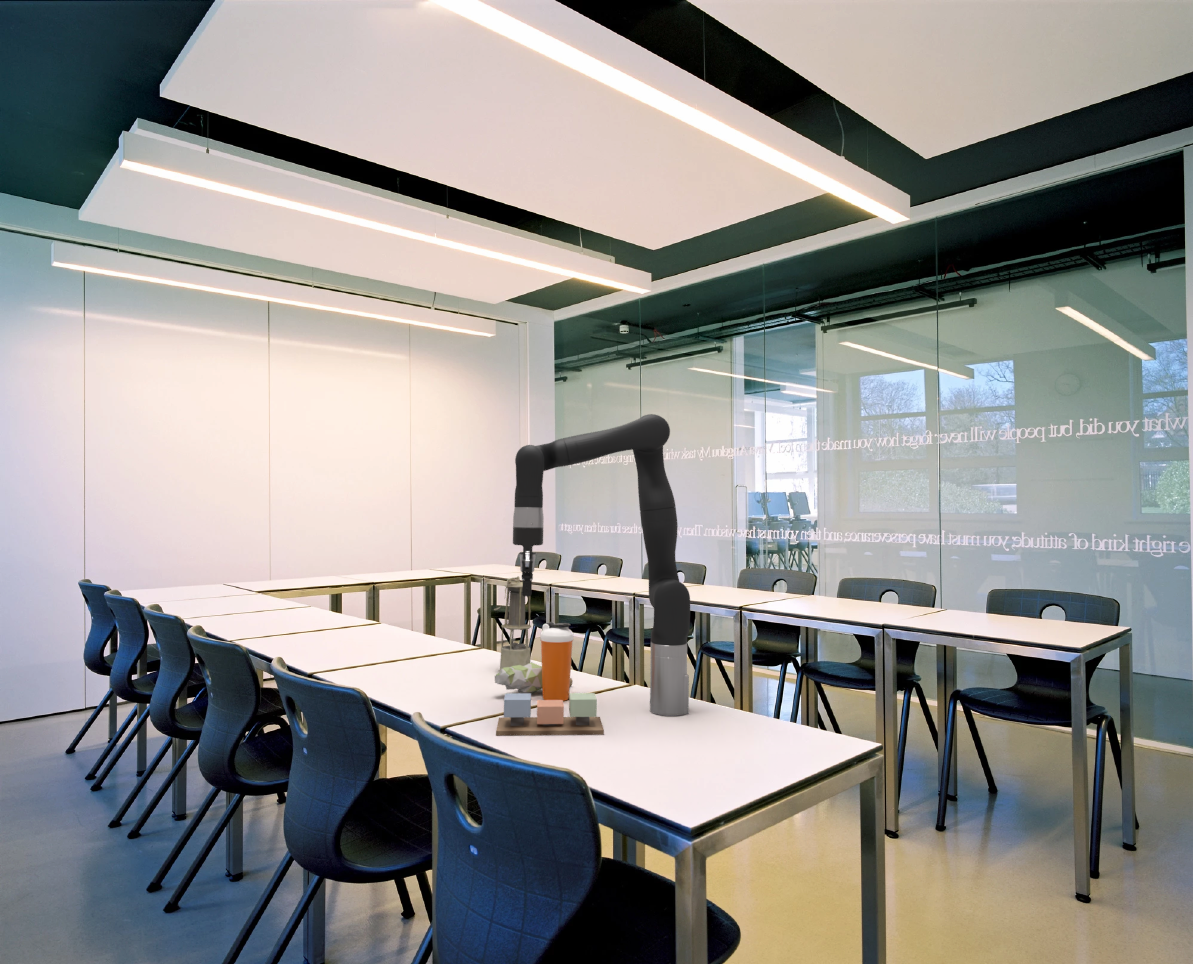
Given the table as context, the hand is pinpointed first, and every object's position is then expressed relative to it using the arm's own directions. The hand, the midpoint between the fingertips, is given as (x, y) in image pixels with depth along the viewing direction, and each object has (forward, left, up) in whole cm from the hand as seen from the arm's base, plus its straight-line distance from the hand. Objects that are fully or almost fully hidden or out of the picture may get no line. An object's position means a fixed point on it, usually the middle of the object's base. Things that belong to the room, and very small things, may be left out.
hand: (526, 595), depth 181 cm
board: (-6, +12, -29) cm, 32 cm away
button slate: (+2, +12, -26) cm, 28 cm away
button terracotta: (-6, +12, -27) cm, 30 cm away
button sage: (-13, +11, -26) cm, 31 cm away
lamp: (+5, -47, -29) cm, 56 cm away
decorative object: (-2, -23, -29) cm, 37 cm away
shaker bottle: (-8, -16, -29) cm, 34 cm away
